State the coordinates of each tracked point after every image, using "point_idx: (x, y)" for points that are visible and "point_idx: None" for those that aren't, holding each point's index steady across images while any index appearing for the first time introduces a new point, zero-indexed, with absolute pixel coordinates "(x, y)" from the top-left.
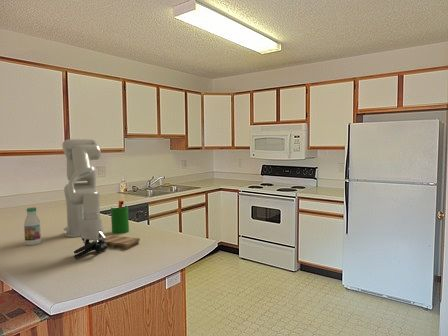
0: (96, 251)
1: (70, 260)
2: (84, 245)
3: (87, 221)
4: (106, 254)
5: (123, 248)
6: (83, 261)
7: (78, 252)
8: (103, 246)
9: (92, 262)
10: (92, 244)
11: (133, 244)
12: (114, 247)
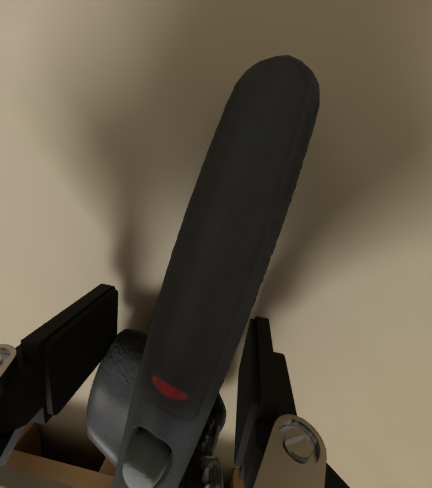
0: (92, 290)
1: (312, 64)
2: (224, 322)
3: None
4: (60, 308)
5: None
6: (126, 73)
7: (227, 118)
8: (92, 407)
9: (10, 69)
10: (137, 390)
11: None
12: None
